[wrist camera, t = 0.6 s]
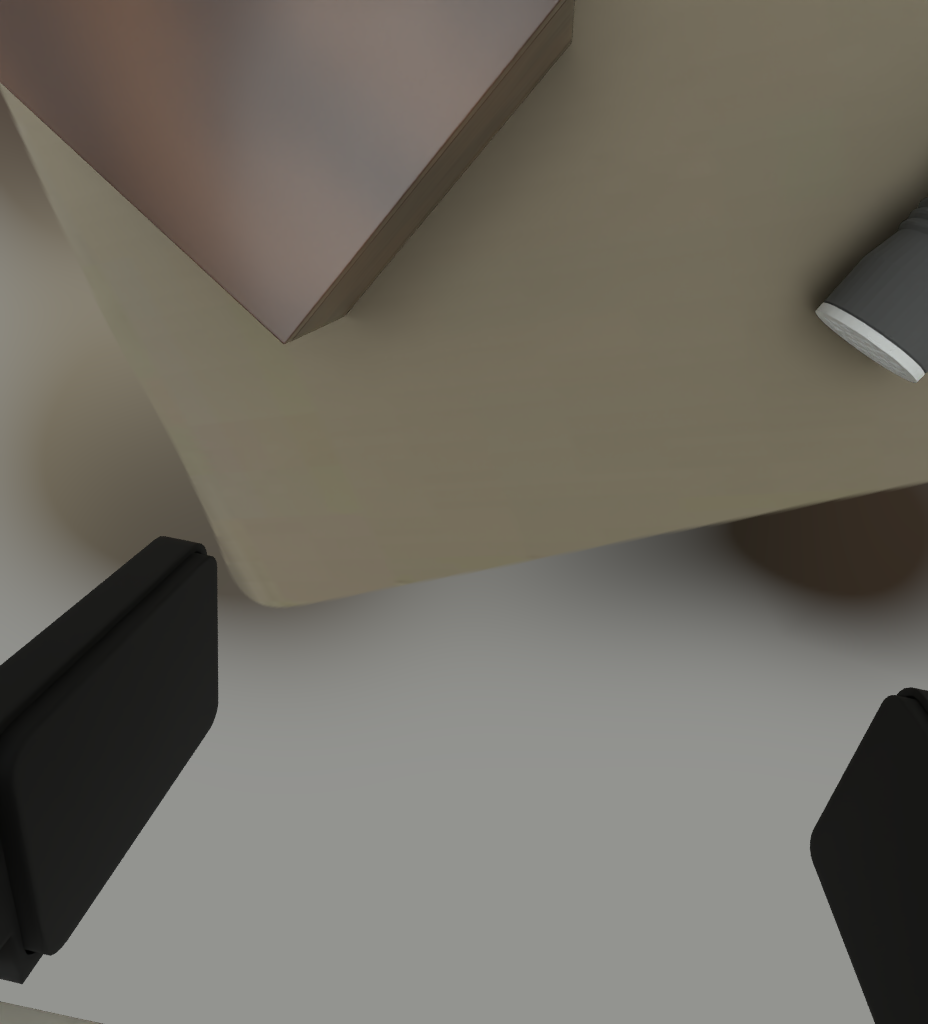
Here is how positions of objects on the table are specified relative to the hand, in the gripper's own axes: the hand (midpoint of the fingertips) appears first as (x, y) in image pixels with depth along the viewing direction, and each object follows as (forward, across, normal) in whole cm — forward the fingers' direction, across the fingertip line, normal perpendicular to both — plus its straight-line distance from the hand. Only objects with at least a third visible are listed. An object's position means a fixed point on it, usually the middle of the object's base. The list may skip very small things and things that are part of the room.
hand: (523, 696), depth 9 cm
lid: (+21, +13, -11) cm, 27 cm away
